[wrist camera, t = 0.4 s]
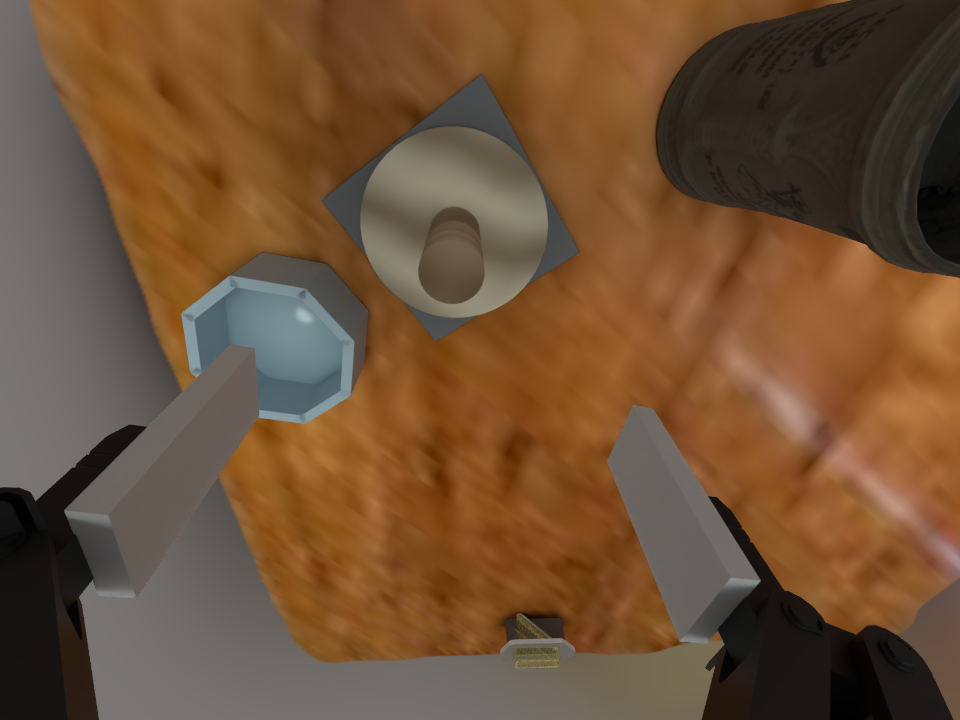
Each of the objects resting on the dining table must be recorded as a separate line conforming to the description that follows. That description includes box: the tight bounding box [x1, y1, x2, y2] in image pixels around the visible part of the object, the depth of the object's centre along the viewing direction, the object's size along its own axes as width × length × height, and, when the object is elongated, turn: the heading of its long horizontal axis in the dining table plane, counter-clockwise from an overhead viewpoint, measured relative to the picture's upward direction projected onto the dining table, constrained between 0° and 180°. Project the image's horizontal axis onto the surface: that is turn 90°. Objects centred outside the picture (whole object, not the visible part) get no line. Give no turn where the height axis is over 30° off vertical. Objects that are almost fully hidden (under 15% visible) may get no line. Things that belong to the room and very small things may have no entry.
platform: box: [500, 613, 575, 668], centre depth 58 cm, size 12×18×7 cm, turn 89°
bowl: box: [181, 252, 369, 424], centre depth 35 cm, size 12×12×6 cm
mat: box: [321, 74, 580, 341], centre depth 33 cm, size 14×14×1 cm
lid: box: [360, 126, 548, 318], centre depth 28 cm, size 14×14×11 cm
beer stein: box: [657, 0, 960, 278], centre depth 23 cm, size 15×11×20 cm
